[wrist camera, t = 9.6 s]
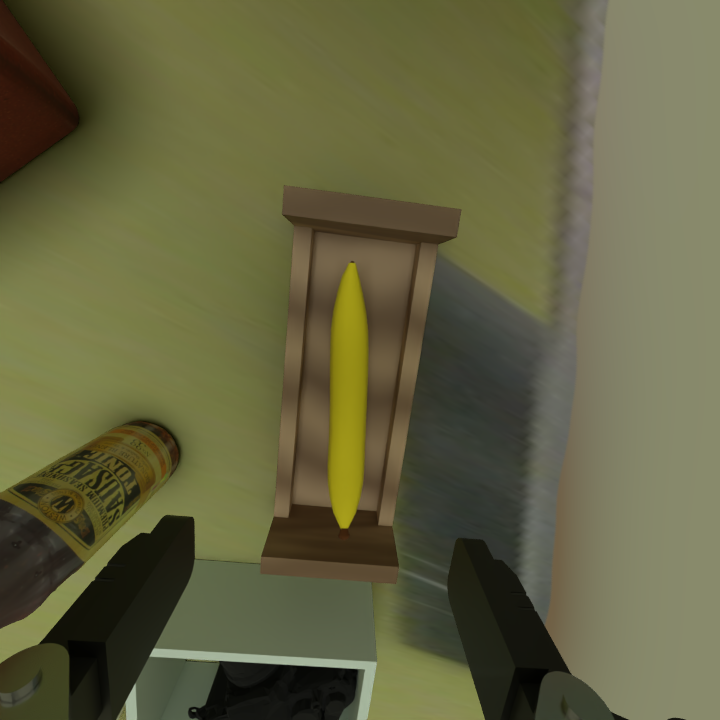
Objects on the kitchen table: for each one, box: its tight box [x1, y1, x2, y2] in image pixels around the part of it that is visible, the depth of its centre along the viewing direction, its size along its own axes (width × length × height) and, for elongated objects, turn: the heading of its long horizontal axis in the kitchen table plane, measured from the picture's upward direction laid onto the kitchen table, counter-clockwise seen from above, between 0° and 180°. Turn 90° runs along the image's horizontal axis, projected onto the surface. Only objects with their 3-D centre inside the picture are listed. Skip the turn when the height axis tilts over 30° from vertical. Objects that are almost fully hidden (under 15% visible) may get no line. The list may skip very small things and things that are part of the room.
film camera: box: [188, 661, 358, 720], centre depth 30 cm, size 15×10×9 cm, turn 111°
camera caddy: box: [126, 559, 377, 720], centre depth 31 cm, size 14×19×8 cm
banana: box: [328, 261, 369, 540], centre depth 25 cm, size 3×19×6 cm, turn 178°
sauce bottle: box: [0, 421, 179, 629], centre depth 20 cm, size 6×6×20 cm
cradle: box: [260, 185, 462, 584], centre depth 25 cm, size 26×10×7 cm, turn 173°
